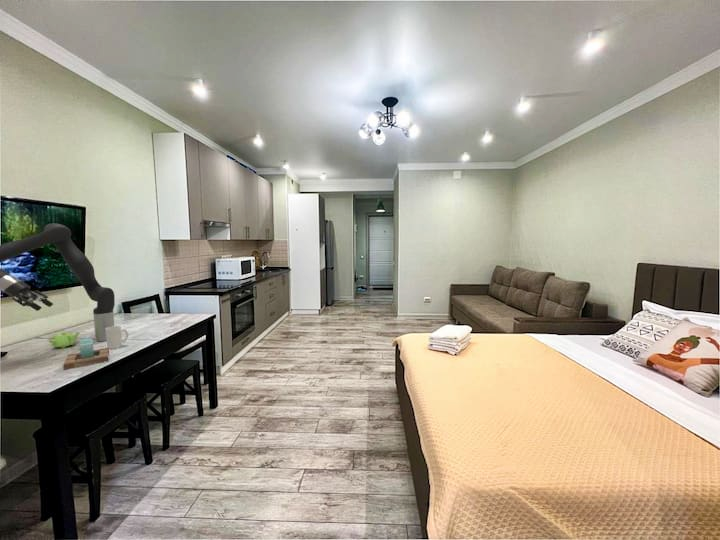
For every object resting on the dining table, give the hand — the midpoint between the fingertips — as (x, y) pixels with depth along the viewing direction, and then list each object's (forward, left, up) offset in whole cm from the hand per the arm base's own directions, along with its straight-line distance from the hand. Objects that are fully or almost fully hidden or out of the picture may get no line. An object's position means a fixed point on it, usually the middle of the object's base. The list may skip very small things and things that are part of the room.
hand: (45, 307), depth 142 cm
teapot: (-24, +2, -28) cm, 37 cm away
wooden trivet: (+11, +14, -28) cm, 33 cm away
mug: (-3, +26, -28) cm, 39 cm away
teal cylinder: (+11, +14, -28) cm, 33 cm away
